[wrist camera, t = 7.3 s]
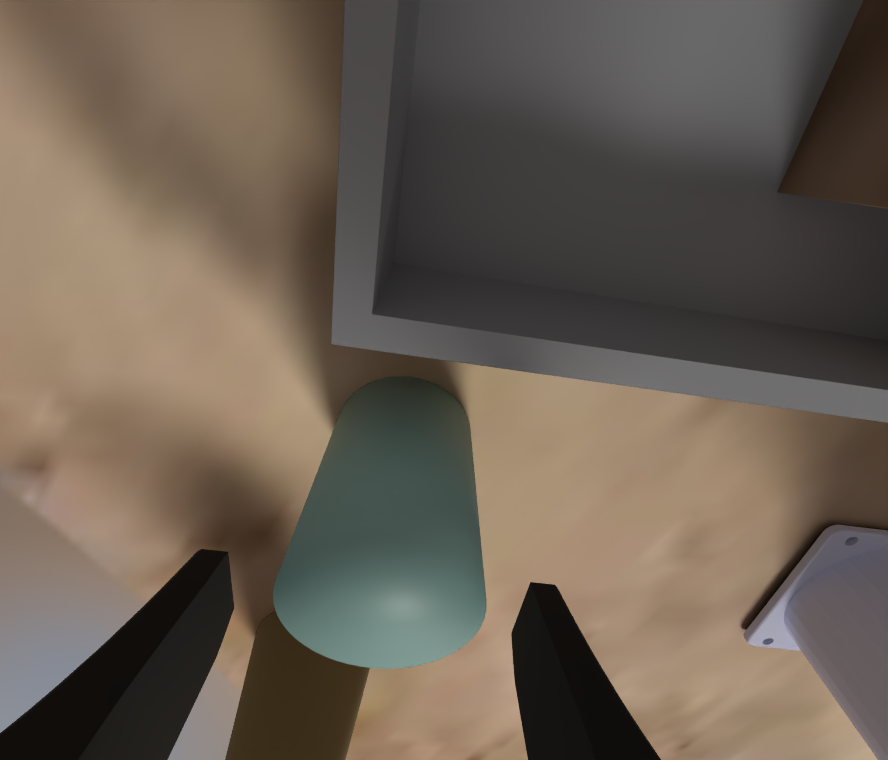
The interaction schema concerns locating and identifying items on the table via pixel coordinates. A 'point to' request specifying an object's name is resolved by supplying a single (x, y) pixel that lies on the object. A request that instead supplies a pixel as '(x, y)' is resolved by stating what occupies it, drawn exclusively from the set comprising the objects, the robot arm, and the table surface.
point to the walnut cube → (849, 121)
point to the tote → (606, 198)
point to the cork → (294, 701)
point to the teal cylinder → (388, 534)
